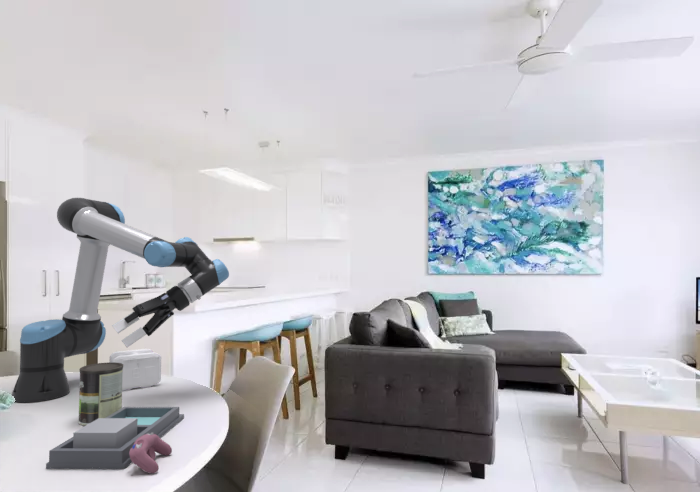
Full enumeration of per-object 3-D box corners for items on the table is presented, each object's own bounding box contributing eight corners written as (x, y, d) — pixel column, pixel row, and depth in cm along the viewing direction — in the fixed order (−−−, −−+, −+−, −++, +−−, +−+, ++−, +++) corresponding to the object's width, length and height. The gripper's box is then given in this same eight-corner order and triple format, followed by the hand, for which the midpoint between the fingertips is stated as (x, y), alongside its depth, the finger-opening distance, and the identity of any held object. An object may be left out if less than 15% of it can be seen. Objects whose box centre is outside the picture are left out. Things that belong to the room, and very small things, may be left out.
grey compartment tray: (45, 468, 89) (46, 438, 90) (125, 417, 120) (125, 395, 120) (124, 468, 89) (125, 438, 89) (183, 417, 119) (184, 395, 120)
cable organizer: (155, 379, 161) (156, 347, 162) (161, 386, 152) (161, 352, 153) (108, 386, 153) (109, 352, 154) (111, 393, 144) (112, 357, 145)
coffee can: (74, 428, 112) (76, 372, 112) (81, 416, 121) (82, 364, 122) (120, 422, 116) (121, 368, 117) (123, 411, 125) (124, 360, 126)
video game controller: (155, 461, 96) (140, 432, 96) (174, 451, 96) (160, 422, 96) (137, 483, 86) (121, 451, 86) (159, 472, 87) (143, 440, 87)
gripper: (188, 287, 128) (118, 333, 117) (193, 316, 149) (134, 358, 138) (172, 268, 129) (102, 312, 119) (179, 300, 150) (120, 340, 140)
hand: (119, 337), depth 128 cm, fingers open, 13 cm apart
